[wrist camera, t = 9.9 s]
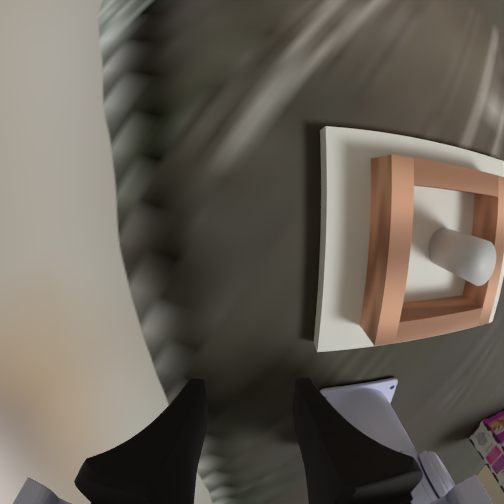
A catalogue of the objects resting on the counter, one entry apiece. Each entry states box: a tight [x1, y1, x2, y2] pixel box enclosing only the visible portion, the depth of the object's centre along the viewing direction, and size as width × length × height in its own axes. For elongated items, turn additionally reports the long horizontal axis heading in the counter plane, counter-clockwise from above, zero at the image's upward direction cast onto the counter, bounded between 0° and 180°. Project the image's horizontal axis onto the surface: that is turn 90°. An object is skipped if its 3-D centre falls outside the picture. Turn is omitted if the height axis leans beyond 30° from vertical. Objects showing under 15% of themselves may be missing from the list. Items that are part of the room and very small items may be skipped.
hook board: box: [314, 126, 504, 352], centre depth 16 cm, size 16×20×6 cm
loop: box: [360, 155, 504, 346], centre depth 17 cm, size 12×12×3 cm
